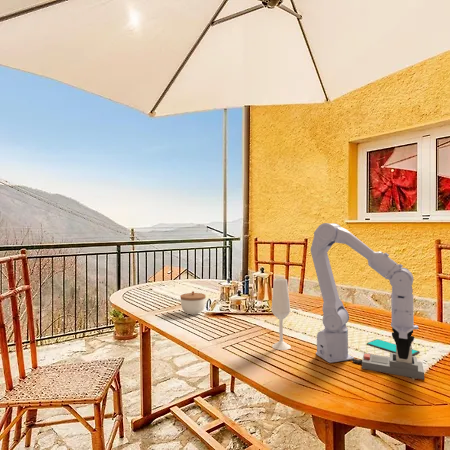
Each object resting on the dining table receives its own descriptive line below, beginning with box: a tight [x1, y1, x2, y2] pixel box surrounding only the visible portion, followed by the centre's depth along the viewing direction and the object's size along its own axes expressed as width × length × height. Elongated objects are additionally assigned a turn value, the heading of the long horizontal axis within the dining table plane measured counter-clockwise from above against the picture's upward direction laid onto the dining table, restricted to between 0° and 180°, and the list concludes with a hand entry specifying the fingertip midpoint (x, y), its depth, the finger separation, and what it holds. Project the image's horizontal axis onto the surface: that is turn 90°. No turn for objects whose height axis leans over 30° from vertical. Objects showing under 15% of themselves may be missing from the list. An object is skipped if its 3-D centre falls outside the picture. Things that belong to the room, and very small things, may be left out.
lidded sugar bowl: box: [180, 290, 207, 315], centre depth 162 cm, size 13×13×11 cm
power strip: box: [352, 352, 425, 381], centre depth 97 cm, size 19×8×4 cm, turn 62°
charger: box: [396, 345, 413, 364], centre depth 95 cm, size 4×4×5 cm
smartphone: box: [366, 338, 420, 356], centre depth 113 cm, size 7×1×15 cm
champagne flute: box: [270, 278, 291, 351], centre depth 116 cm, size 7×7×24 cm
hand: (403, 355), depth 95 cm, fingers closed on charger, 4 cm apart
